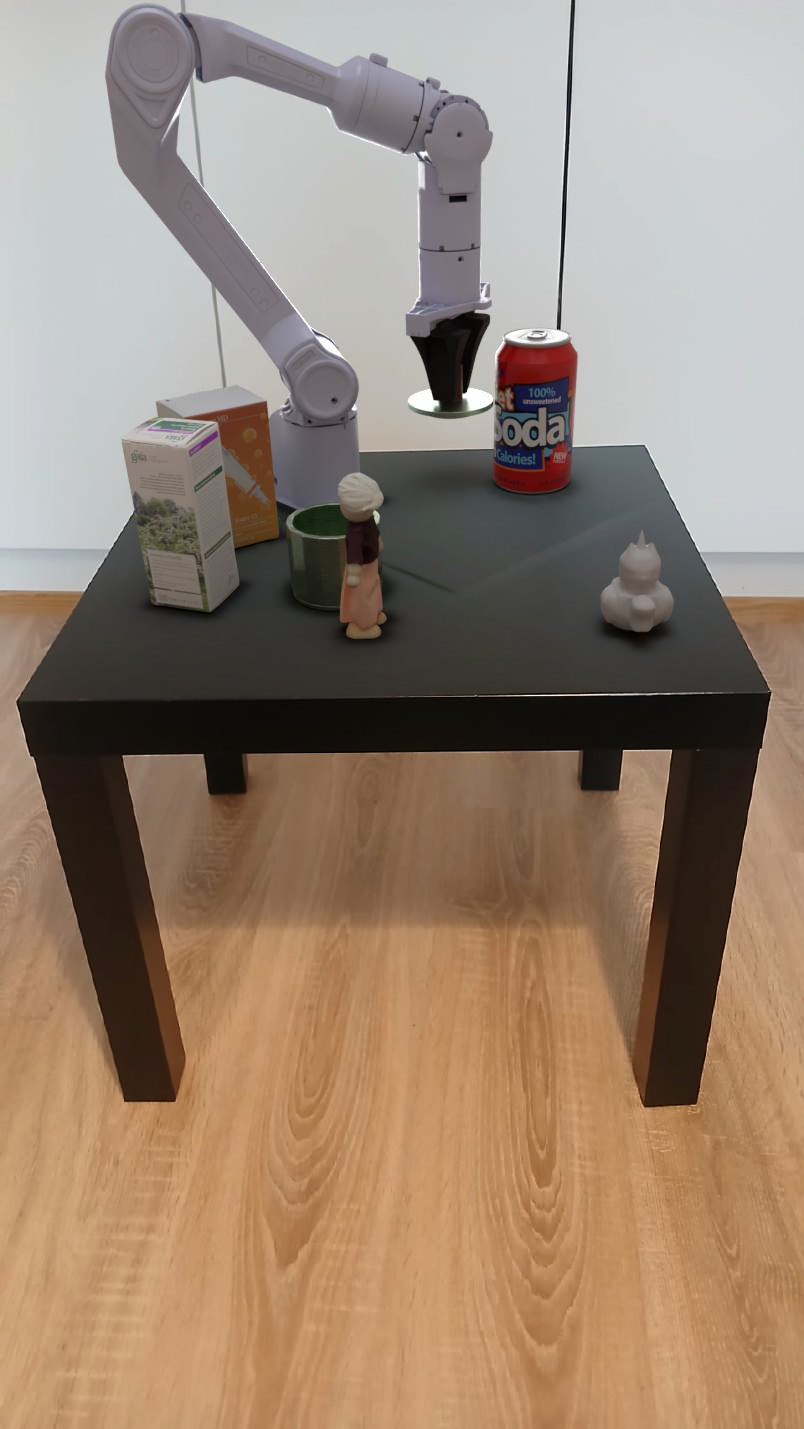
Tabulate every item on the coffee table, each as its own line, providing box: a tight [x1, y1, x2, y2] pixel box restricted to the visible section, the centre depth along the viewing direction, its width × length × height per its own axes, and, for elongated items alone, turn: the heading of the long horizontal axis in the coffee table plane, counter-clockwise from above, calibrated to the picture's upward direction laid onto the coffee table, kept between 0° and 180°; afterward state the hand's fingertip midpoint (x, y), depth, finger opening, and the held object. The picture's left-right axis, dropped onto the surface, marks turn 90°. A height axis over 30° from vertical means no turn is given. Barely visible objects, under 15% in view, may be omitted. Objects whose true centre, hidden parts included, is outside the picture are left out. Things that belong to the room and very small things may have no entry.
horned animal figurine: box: [600, 529, 675, 633], centre depth 80 cm, size 5×7×8 cm
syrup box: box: [120, 416, 240, 613], centre depth 85 cm, size 6×6×14 cm
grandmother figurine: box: [338, 472, 387, 640], centre depth 80 cm, size 8×4×13 cm, turn 178°
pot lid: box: [407, 362, 494, 420], centre depth 103 cm, size 8×8×5 cm
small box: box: [155, 384, 280, 549], centre depth 96 cm, size 8×6×13 cm
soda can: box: [492, 327, 579, 495], centre depth 104 cm, size 8×8×15 cm
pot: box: [285, 502, 384, 612], centre depth 88 cm, size 8×8×6 cm
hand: (450, 396), depth 103 cm, fingers closed on pot lid, 2 cm apart
